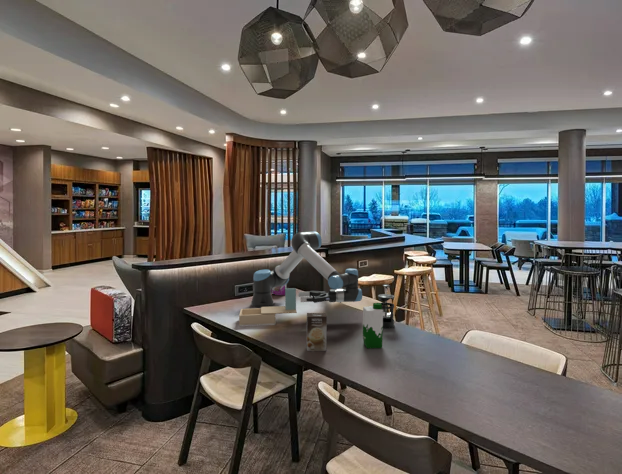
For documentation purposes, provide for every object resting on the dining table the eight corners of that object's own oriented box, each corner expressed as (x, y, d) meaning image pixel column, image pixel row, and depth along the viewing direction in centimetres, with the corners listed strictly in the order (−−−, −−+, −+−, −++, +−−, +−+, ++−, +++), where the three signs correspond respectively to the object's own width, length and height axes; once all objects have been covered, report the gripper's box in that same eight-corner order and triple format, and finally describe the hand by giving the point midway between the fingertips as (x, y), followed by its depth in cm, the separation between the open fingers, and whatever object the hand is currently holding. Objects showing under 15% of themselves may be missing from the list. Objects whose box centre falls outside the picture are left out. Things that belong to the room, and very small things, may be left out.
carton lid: (294, 306, 220) (294, 286, 219) (296, 312, 206) (296, 291, 205) (261, 307, 218) (261, 287, 217) (261, 314, 204) (260, 292, 203)
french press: (399, 326, 201) (399, 285, 200) (387, 329, 196) (388, 287, 194) (382, 321, 211) (383, 282, 209) (371, 324, 205) (371, 284, 203)
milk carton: (384, 348, 169) (385, 306, 167) (365, 349, 168) (365, 306, 167) (379, 341, 177) (379, 301, 176) (361, 342, 177) (361, 301, 175)
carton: (274, 317, 219) (274, 307, 218) (275, 324, 205) (275, 314, 205) (241, 318, 216) (240, 308, 216) (239, 326, 203) (239, 315, 202)
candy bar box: (271, 295, 278) (270, 274, 277) (272, 293, 283) (272, 272, 282) (285, 295, 277) (285, 274, 276) (286, 294, 282) (286, 273, 281)
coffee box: (306, 351, 166) (306, 316, 165) (306, 346, 172) (306, 312, 171) (326, 351, 166) (326, 316, 165) (325, 345, 172) (325, 312, 171)
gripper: (339, 307, 202) (301, 308, 200) (332, 297, 227) (298, 298, 225) (339, 294, 202) (301, 295, 200) (332, 285, 227) (297, 286, 224)
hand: (299, 296), depth 212 cm, fingers open, 13 cm apart
